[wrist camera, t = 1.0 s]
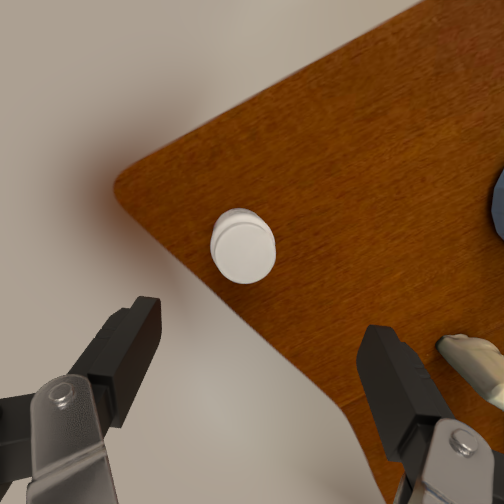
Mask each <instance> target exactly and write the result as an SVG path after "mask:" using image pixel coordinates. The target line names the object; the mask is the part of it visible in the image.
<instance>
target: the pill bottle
mask: <svg viewBox="0 0 504 504" xmlns="http://www.w3.org/2000/svg"><path fill="white" fill-rule="evenodd" d="M210 248H211V255H212V258H213V260H214V262H215V264H216V265H217V267H218V269H219V270H220V272H221V273H222V274H223V275H224V276H225V277H226V278H228V279H229V280H231V281H233V282H236V283H241V284H248V283H253V282H256V281H259V280H261V279H262V278H264V277H265V276H266V275H267V274H268V273H269V272H270V270H271V269H272V267H273V265H274V262H275V257H276V249H275V240H274V236H273V234H272V232H271V230H270V228H269V226H268V225H267V224H266V223H265V222H264V221H263V220H262V219H261V218H260V217H259V216H258V215H257V214H255V213H254V212H252V211H250V210H248V209H244V208H235V209H231V210H228V211H227V212H225V213H224V214H222V215H221V216H220V217H219V218H218V220H217V221H216V223H215V226H214V229H213V234H212V238H211V245H210Z"/></svg>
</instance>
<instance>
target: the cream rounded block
mask: <svg viewBox="0 0 504 504" xmlns="http://www.w3.org/2000/svg"><path fill="white" fill-rule="evenodd" d="M435 346H436V349H437V350H438V352H440V354H441V355H442V356H443V357H444V358H445V359H446V361H447V362H448V363H449V364H450V365H451V366H452V367H453V368H454V369H455V370H456V371H457V372H458V373H459V374H460V375H461V376H462V377H463V378H464V379H465V380H466V381H467V382H468V383H469V384H470V385H471V386H472V387H473V388H474V390H475V391H476V392H477V393H478V394H479V395H480V396H481V397H482V398H483V399H485V400H486V401H488V402H489V403H491V404H493V405H495V406H496V407H498V408H499V409H501V410H503V411H504V356H503V355H502V354H501V353H500V352H499V350H498V349H497V348H496V347H495V346H494V345H493V344H492V343H490V342H489V341H487V340H484V339H480V338H469V337H468V336H466V335H463V334H458V335H454V336H451V335H445V336H442V337H441V338H440V339H439V340H438V341H437V342H436V344H435Z"/></svg>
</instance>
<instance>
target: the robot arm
mask: <svg viewBox="0 0 504 504" xmlns="http://www.w3.org/2000/svg"><path fill="white" fill-rule="evenodd" d="M161 333H162V321H161V301H160V299H159V298H152V297H144V296H139V297H138V298H137V299H136V300H135V302H134V304H133V305H132V307H131V308H130V309H129V308H121V309H120V310H119V311H117V312H115V313H114V314H113V315H111V316H110V317H109V319H108V320H107V321H106V322H105V324H104V325H103V326H102V329H100V330H99V332H98V333H97V335H96V337H95V338H94V339H93V340H92V341H91V343H90V344H89V345H88V347H87V348H86V349H85V351H84V352H83V353H82V355H81V356H80V357H79V359H78V360H77V362H76V363H75V364H74V365H73V367H72V368H71V370H70V371H69V372H68V373H67V374H66V375H63V376H60V377H57V378H55V379H53V380H51V381H49V382H48V383H46V384H45V385H44V386H42V387H41V388H40V389H39V390H38V391H37V392H36V393H33V394H27V395H22V396H15V397H9V398H3V399H0V502H1V500H2V498H3V497H4V495H5V493H6V492H7V490H8V489H9V487H10V485H11V484H12V482H13V481H15V480H19V479H23V478H28V477H32V482H30V483H29V484H28V486H27V493H26V504H118V499H117V495H116V491H115V486H114V481H113V477H112V473H111V468H110V464H109V460H108V456H107V451H106V447H105V444H104V440H103V439H104V437H105V435H106V433H107V431H108V429H109V427H115V428H121V427H122V425H123V423H124V421H125V418H126V416H127V414H128V412H129V409H130V407H131V405H132V403H133V401H134V398H135V396H136V394H137V392H138V390H139V387H140V385H141V383H142V381H143V379H144V376H145V374H146V372H147V370H148V367H149V365H150V363H151V361H152V359H153V356H154V354H155V352H156V350H157V347H158V345H159V342H160V339H161ZM356 364H357V370H358V373H359V376H360V379H361V382H362V385H363V388H364V391H365V394H366V397H367V400H368V403H369V406H370V409H371V412H372V415H373V418H374V421H375V424H376V427H377V430H378V433H379V436H380V439H381V441H382V444H383V447H384V450H385V453H386V456H387V459H388V461H394V462H402V464H403V466H404V469H405V472H404V474H403V475H402V478H401V481H400V484H399V487H398V490H397V493H396V496H395V499H394V503H393V504H504V454H502V453H499V452H497V451H494V450H492V449H490V447H489V445H488V444H487V443H486V441H485V440H484V439H483V438H482V437H481V436H480V435H479V434H478V433H477V432H476V431H475V430H473V429H472V428H471V427H469V426H468V425H466V424H464V423H462V422H460V421H458V420H456V419H455V417H454V415H453V414H452V412H451V410H450V409H449V407H448V405H447V403H446V402H445V400H444V398H443V397H442V395H441V393H440V392H439V390H438V388H437V387H436V385H435V383H434V382H433V380H432V379H430V375H429V373H428V372H427V370H426V369H424V365H423V363H422V362H421V360H420V358H419V357H418V355H417V353H416V352H414V351H413V350H412V349H411V348H410V347H409V346H408V345H407V344H406V343H405V342H400V340H399V339H398V337H397V335H396V333H395V331H394V330H393V329H392V328H391V327H387V326H379V325H369V326H368V327H367V330H366V332H365V335H364V337H363V340H362V343H361V345H360V348H359V350H358V353H357V359H356Z"/></svg>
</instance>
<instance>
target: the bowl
mask: <svg viewBox="0 0 504 504" xmlns="http://www.w3.org/2000/svg"><path fill="white" fill-rule="evenodd" d="M491 213H492V217H493V221H494V224H495V228H496V232H497V233H498V235H499V236H500V237H501V238H502V239H503V240H504V169H503V171H502V173H501V175H500V177H499V179H498V181H497V183H496V185H495V187H494V194H493V201H492V209H491Z"/></svg>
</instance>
